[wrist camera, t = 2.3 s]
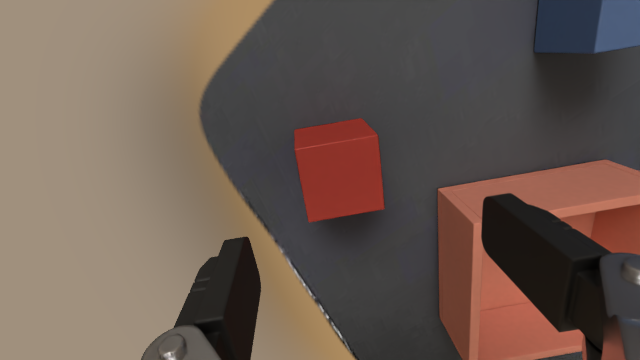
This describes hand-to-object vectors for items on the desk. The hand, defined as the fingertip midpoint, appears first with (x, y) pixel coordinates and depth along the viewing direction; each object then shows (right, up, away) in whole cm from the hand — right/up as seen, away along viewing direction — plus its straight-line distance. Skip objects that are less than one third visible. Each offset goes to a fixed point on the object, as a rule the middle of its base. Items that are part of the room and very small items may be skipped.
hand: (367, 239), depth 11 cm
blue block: (+12, +11, +6) cm, 18 cm away
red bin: (+12, -3, +12) cm, 18 cm away
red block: (-1, +3, +9) cm, 9 cm away
